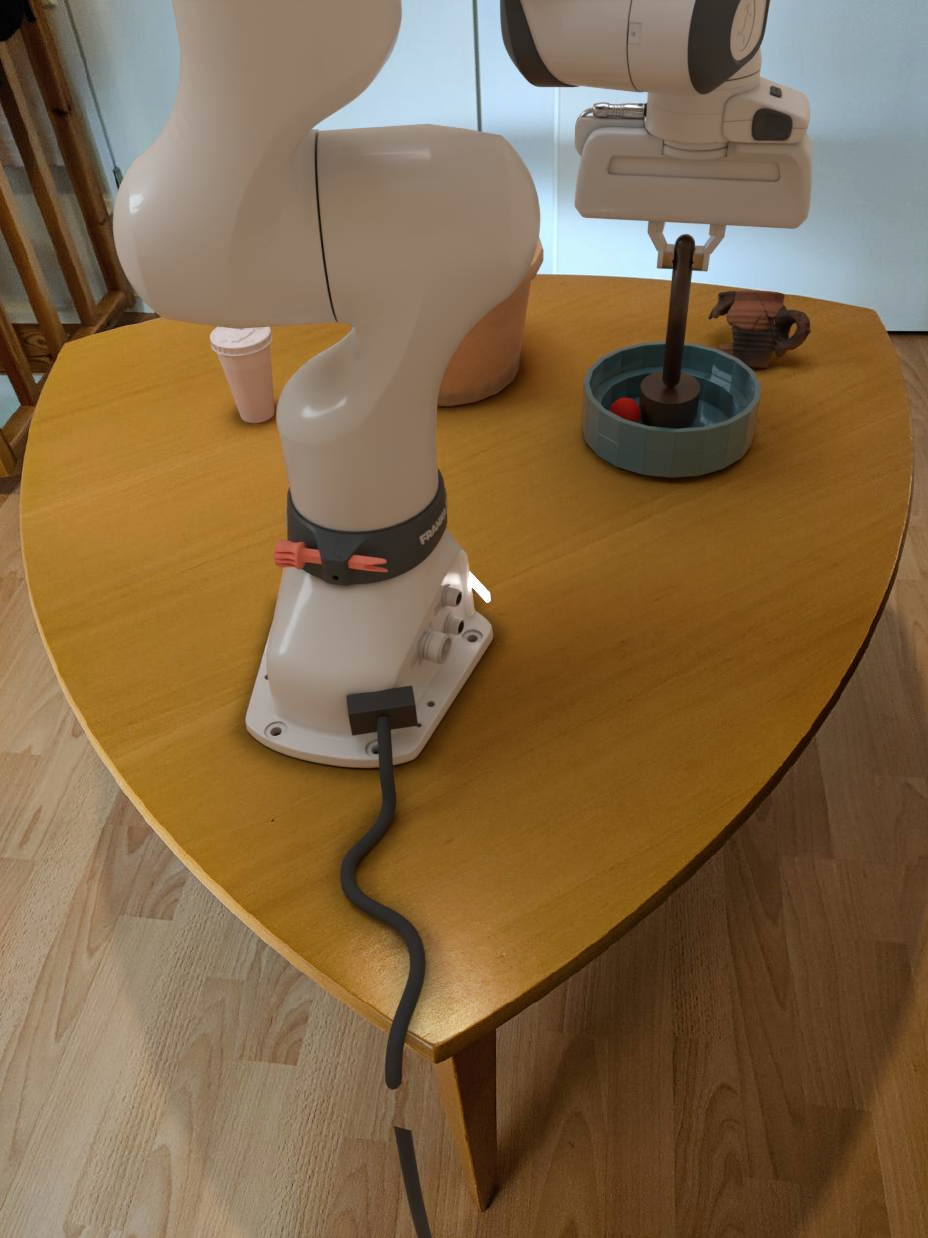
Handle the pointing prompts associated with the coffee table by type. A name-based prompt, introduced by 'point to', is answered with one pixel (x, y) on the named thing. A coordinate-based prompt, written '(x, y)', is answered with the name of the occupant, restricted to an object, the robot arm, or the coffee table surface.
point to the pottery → (490, 348)
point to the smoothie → (247, 369)
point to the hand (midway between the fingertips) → (682, 267)
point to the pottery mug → (759, 325)
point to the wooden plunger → (673, 354)
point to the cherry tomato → (626, 409)
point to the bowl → (671, 450)
